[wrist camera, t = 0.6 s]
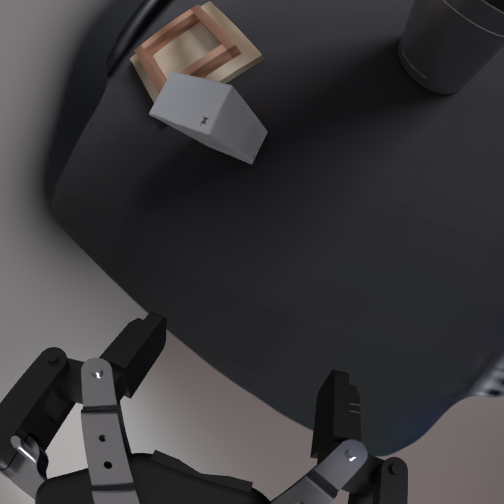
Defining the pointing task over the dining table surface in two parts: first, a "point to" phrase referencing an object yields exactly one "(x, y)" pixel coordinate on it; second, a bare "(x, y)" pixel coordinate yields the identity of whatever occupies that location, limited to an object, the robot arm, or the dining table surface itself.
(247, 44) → the serum stand
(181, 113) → the skincare box
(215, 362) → the dining table surface
